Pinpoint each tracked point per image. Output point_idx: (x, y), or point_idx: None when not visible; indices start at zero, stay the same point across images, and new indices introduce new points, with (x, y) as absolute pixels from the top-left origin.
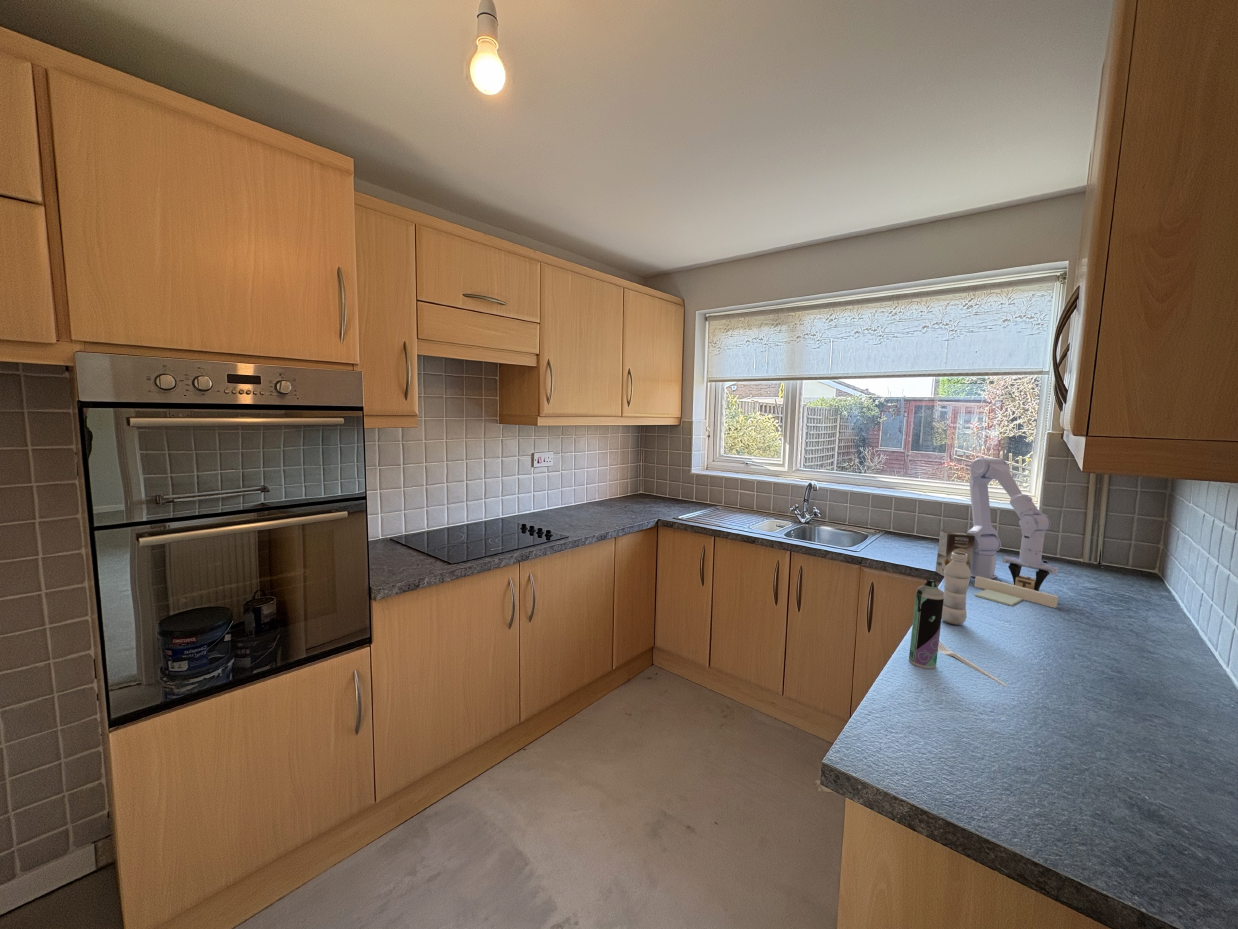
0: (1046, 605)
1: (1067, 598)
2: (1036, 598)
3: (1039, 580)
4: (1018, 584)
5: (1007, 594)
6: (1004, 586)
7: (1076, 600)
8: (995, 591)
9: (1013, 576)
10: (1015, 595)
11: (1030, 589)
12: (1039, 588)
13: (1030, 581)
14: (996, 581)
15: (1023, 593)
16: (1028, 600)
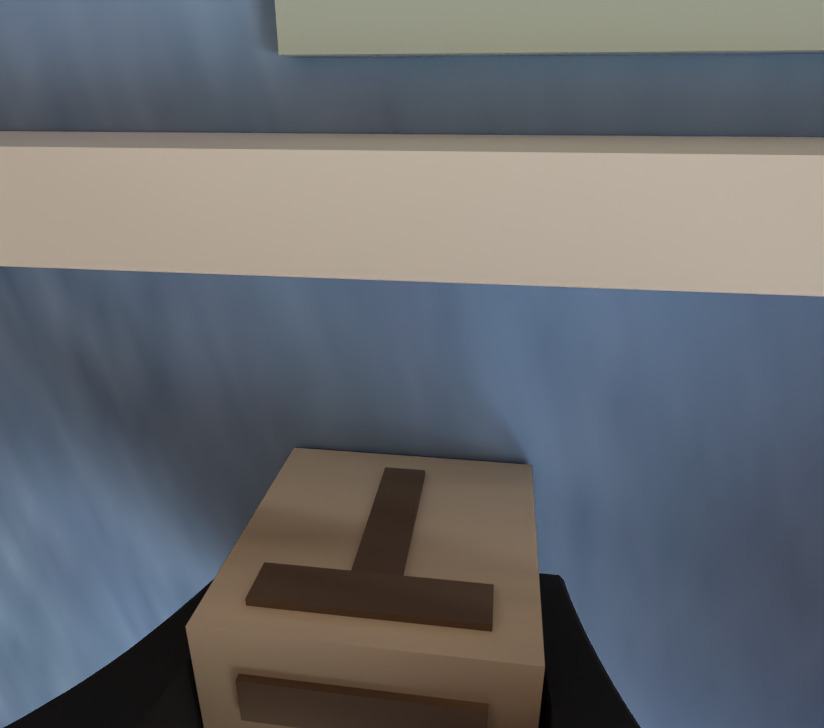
0: None
1: None
2: (76, 137)
3: (88, 692)
4: (478, 550)
5: (541, 47)
6: (658, 149)
7: (18, 711)
8: (778, 25)
9: (608, 715)
10: (421, 137)
11: (150, 255)
12: None
13: (254, 622)
14: None
15: (272, 139)
16: (225, 133)
